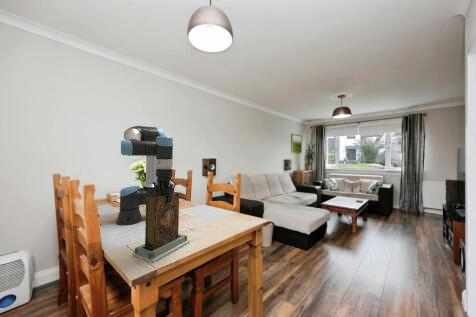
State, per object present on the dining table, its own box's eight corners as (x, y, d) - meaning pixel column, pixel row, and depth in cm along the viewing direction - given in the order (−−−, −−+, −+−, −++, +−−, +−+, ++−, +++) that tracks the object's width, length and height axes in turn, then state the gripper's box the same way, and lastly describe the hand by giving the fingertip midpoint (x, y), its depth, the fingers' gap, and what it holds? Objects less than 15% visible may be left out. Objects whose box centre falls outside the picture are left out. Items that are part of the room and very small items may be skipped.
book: (171, 239, 103) (172, 191, 103) (179, 241, 101) (180, 192, 101) (144, 252, 89) (145, 197, 89) (153, 255, 86) (154, 198, 86)
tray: (132, 254, 88) (132, 247, 88) (169, 237, 108) (169, 231, 108) (154, 263, 82) (154, 255, 82) (189, 242, 101) (189, 236, 101)
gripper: (148, 168, 94) (147, 217, 94) (168, 169, 88) (167, 221, 88) (160, 167, 101) (160, 213, 101) (180, 168, 95) (179, 217, 95)
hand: (163, 217), depth 94 cm, fingers closed
